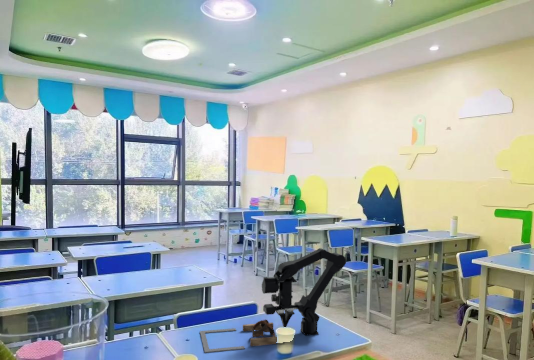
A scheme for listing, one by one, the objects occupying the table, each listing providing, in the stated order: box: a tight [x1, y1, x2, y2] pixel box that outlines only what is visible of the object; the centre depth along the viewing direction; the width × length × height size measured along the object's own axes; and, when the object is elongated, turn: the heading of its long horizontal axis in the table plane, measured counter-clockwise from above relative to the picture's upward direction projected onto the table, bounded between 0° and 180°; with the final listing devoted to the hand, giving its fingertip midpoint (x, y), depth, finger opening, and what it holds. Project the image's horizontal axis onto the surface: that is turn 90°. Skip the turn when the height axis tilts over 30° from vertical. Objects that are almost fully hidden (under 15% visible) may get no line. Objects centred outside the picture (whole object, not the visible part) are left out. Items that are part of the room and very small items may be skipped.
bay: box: [199, 328, 246, 354], centre depth 158 cm, size 16×21×1 cm
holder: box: [242, 322, 277, 347], centre depth 163 cm, size 14×17×2 cm
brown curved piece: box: [251, 319, 276, 338], centre depth 162 cm, size 12×10×8 cm
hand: (284, 327), depth 165 cm, fingers closed
